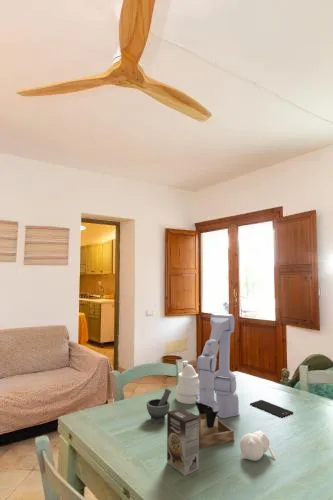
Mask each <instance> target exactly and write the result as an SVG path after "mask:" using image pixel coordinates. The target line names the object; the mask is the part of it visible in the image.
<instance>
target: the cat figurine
mask: <svg viewBox="0 0 333 500" xmlns="http://www.w3.org/2000/svg"><path fill="white" fill-rule="evenodd" d="M239 445H240V451H241V452H240V456H239V458H240V459H241V460H244V459H245V460H246V459H247V460H249V461H252V462H253V461H259V460H260V459H261V458H262V457H263V455H264V454H265V453H266V452H268V450H269V453H270V454H271V457H272V459H273V460H276V455H275V453H274V451H273V450H272V448H271V446H270V439H269V437H268V435H267V434H266V433H264V432H263V431H262V429H258V430H257V431H253V433H250V432H249V433H246V434H244V435H243V436H242V437H241V439H240V444H239Z"/></svg>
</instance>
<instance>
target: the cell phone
mask: <svg viewBox="0 0 333 500" xmlns="http://www.w3.org/2000/svg"><path fill="white" fill-rule="evenodd" d="M251 405H252V406H251ZM249 406H251V407H254V408H256V407H257V408H256V409H258V408H259V410H261V411H263V410H264V411H263V412H266V413H268V414H270V413H271V415H272V416H275V415H276V416H275V417H278V418H280V417H281V418H280V419H284V418H286V417H289V416H291V415H294V414H293V413H294V412H293V411H292V410H289V409H286V408H284V407H281V406H279V405H276V404H273V403H271V402H269V401H265V400H263V399H259V400H257V401H253V402H251V403H249ZM290 414H291V415H290ZM288 415H289V416H288ZM285 416H286V417H285ZM283 417H284V418H283Z"/></svg>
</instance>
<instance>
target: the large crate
mask: <svg viewBox="0 0 333 500" xmlns="http://www.w3.org/2000/svg"><path fill="white" fill-rule="evenodd" d="M234 432H235V431H234V430H233V429H232V428H231V427H230V426H227V424H225V423H224V422H223V421H222V420H221V419H219V418H218V433H216V434H211V435H206V436H200V435H199V449H203V448H208V447H213V446H218V445H221V444H226V443H227V444H228V443H230V442H231V443H233V442H235V433H234Z"/></svg>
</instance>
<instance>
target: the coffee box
mask: <svg viewBox="0 0 333 500" xmlns="http://www.w3.org/2000/svg"><path fill="white" fill-rule="evenodd" d="M196 415H197V414H194V413H192V412H190V411H188V410H187V409H184V408H182V407H180V408H176V409H172V410H169V411H168V412H167V414H166V416H167V418H166V420H167V421H166V422H167V423H166V424H167V425H166V426H167V427H166V429H167V431H166V433H167V435H166V439H167V440H166V443H167V444H166V454H167V455H166V462H167V464H168V465H170V466H171V467H172V468H173V469H175V470H176V471H178V473H180V474H181V475H182V476H184V477H185V476H188V475H190V474H192V473H194V472H196V471H198V470H199V469H200V468H199V467H200V465H199V463H200V459H199V458H200V457H199V455H200V452H199V450H200V448H199V417H198V416H196Z"/></svg>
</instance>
